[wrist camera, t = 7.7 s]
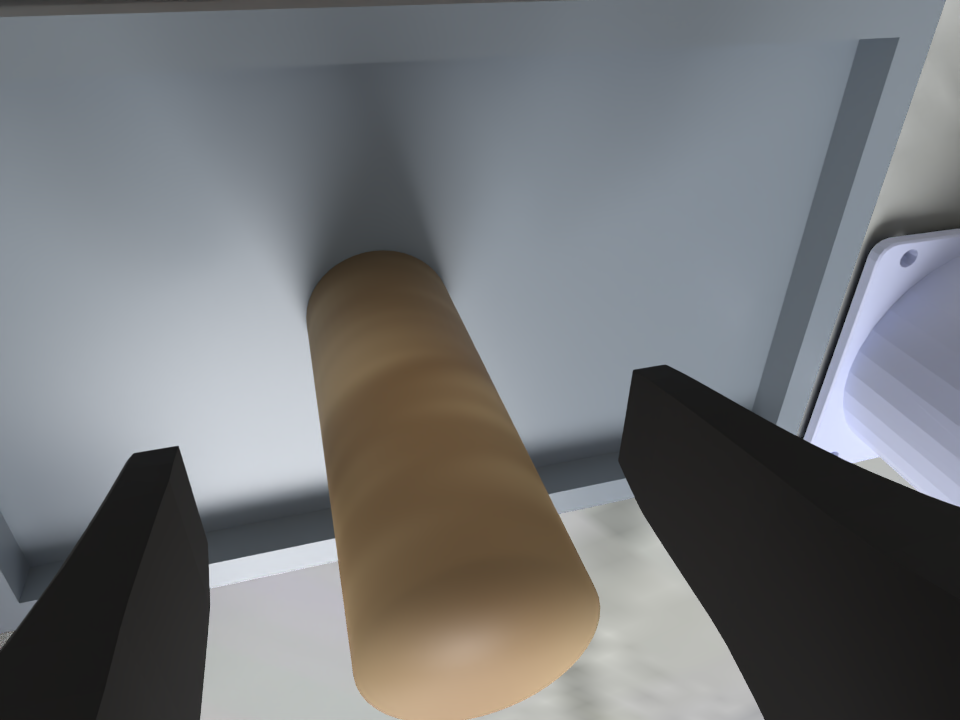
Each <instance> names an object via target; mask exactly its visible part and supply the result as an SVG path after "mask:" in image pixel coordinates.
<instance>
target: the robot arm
mask: <svg viewBox="0 0 960 720" xmlns="http://www.w3.org/2000/svg"><path fill="white" fill-rule="evenodd" d="M877 457H881V458H882V459H883V460H884V461H885V462H886V463H887V464H888V465H890V466H891V467H892V468H893V469H894V470H895V471H896V472H897V473H898V474H900V475H901V476H902V477H903V478H904V479H905V480H906V481H907V482H909V483H910V484H911V485H912V486H913V487H914V488H915V489H916V490H917V491H915V490H913V489H911V488H908V487H906V486H903V485H901V484H899V483H896V482H894V481H891V480H889V479H887V478H884V477H882V476H879V475H877V474H875V473H872V472H870V471H868V470H866V469H863V468H861V467H859V466H857V465H855V464H852V463H854V462H859V461H863V460H868V459H873V458H877ZM618 462H619V464H620V467H621V469H622V471H623V473H624V475H625V478H626V480H627V482H628V484H629V487H630V489H631V491H632V493H633V495H634V497H635V499H636V501H637V503H638V505H639V507H640V509H641V511H642V513H643V514H644V516H645V518H646V519H647V521H648V523H649V524H650V526H651V527H652V529H653V530H654V532H655V533H656V535H657V537H658V538H659V540H660V541H661V543H662V544H663V546H664V548H665V549H666V551H667V552H668V554H669V555H670V557H671V558H672V560H673V561H674V563H675V564H676V566H677V567H678V569H679V570H680V572H681V574H682V575H683V577H684V578H685V580H686V581H687V583H688V584H689V586H690V587H691V589H692V590H693V592H694V593H695V595H696V596H697V598H698V599H699V601H700V603H701V604H702V606H703V607H704V609H705V610H706V612H707V613H708V615H709V616H710V618H711V619H712V621H713V623H714V624H715V626H716V628H717V629H718V631H719V633H720V634H721V636H722V638H723V639H724V641H725V643H726V645H727V646H728V648H729V650H730V652H731V654H732V656H733V658H734V660H735V662H736V664H737V666H738V668H739V669H740V671H741V673H742V675H743V677H744V679H745V681H746V683H747V685H748V687H749V689H750V691H751V693H752V695H753V696H754V698H755V700H756V703H757V705H758V707H759V709H760V711H761V713H762V715H763V717H764V719H765V720H960V228H959V229H951V230H943V231H935V232H928V233H920V234H912V235H905V236H897V237H890V238H887V239H884V240H882V241H880V242H879V243H877V244H876V245H875V246H874V247H873V248H872V250H871V251H870V253H869V255H868V258H867V260H866V263H865V266H864V269H863V272H862V275H861V277H860V280H859V283H858V286H857V289H856V292H855V294H854V297H853V300H852V303H851V306H850V309H849V311H848V314H847V317H846V320H845V323H844V326H843V329H842V331H841V334H840V337H839V340H838V343H837V346H836V348H835V351H834V354H833V357H832V360H831V363H830V365H829V368H828V371H827V374H826V377H825V380H824V382H823V385H822V388H821V391H820V394H819V397H818V399H817V402H816V405H815V408H814V411H813V414H812V416H811V419H810V422H809V425H808V428H807V431H806V433H805V436H804V439H802V438H800V437H798V436H796V435H794V434H792V433H790V432H788V431H786V430H785V429H783V428H781V427H779V426H777V425H775V424H773V423H772V422H770V421H768V420H766V419H764V418H763V417H761V416H759V415H757V414H755V413H754V412H752V411H750V410H748V409H746V408H745V407H743V406H741V405H739V404H738V403H736V402H734V401H732V400H731V399H729V398H727V397H725V396H723V395H722V394H720V393H718V392H716V391H715V390H713V389H711V388H709V387H708V386H706V385H704V384H702V383H700V382H699V381H697V380H695V379H693V378H691V377H690V376H688V375H686V374H684V373H682V372H680V371H678V370H676V369H674V368H672V367H670V366H668V365H666V364H665V365H659V366H653V367H647V368H641V369H635V370H633V372H632V378H631V385H630V391H629V397H628V403H627V409H626V415H625V421H624V428H623V434H622V440H621V446H620V452H619V458H618ZM918 491H919V492H918ZM209 613H210V586H209V558H208V542H207V538H206V535H205V532H204V528H203V525H202V522H201V518H200V515H199V512H198V508H197V505H196V502H195V498H194V495H193V492H192V488H191V485H190V482H189V478H188V475H187V472H186V468H185V465H184V462H183V458H182V455H181V452H180V448H179V446H173V447H167V448H161V449H155V450H149V451H143V452H137V453H133V454H132V455H131V457H130V458H129V459H128V460H127V461H126V463H125V465H124V467H123V468H122V470H121V472H120V473H119V475H118V477H117V479H116V480H115V482H114V484H113V485H112V487H111V489H110V491H109V492H108V494H107V496H106V497H105V499H104V501H103V502H102V504H101V506H100V507H99V509H98V510H97V512H96V514H95V515H94V517H93V519H92V520H91V522H90V523H89V525H88V527H87V528H86V530H85V531H84V533H83V534H82V536H81V537H80V539H79V540H78V542H77V543H76V545H75V547H74V548H73V550H72V551H71V553H70V554H69V556H68V557H67V559H66V560H65V562H64V563H63V565H62V566H61V568H60V569H59V571H58V572H57V574H56V575H55V577H54V578H53V580H52V581H51V582H50V584H49V585H48V587H47V588H46V589H45V591H44V592H43V593H42V595H41V596H40V598H39V599H38V600H37V602H36V603H35V604H34V606H33V607H32V608H31V610H30V611H29V612H28V614H27V615H26V617H25V618H24V619H23V621H22V622H21V623H20V625H19V626H18V627H17V629H16V630H15V632H14V633H13V634H12V636H11V637H10V638H9V639H8V641H7V642H6V643H5V645H4V646H3V647H2V648H1V650H0V720H200V713H201V703H202V692H203V681H204V670H205V659H206V648H207V637H208V625H209Z"/></svg>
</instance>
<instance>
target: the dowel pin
mask: <svg viewBox="0 0 960 720" xmlns="http://www.w3.org/2000/svg"><path fill="white" fill-rule="evenodd" d="M306 321H307V331H308V339H309V346H310V354H311V361H312V369H313V376H314V384H315V391H316V399H317V406H318V414H319V421H320V429H321V436H322V444H323V451H324V459H325V466H326V474H327V481H328V489H329V496H330V504H331V511H332V519H333V526H334V534H335V541H336V549H337V556H338V564H339V571H340V579H341V586H342V594H343V601H344V609H345V616H346V624H347V631H348V639H349V646H350V654H351V661H352V669H353V676H354V680H355V683H356V686H357V688H358V690H359V692H360V694H361V695H362V696H363V697H364V699H365V700H366V701H367V702H368V703H369V704H371V705H372V706H373V707H374V708H376V709H377V710H379V711H381V712H383V713H385V714H387V715H390V716H392V717H395V718H398V719H403V720H467V719H471V718H476V717H480V716H484V715H487V714H490V713H494V712H497V711H499V710H502V709H505V708H507V707H510V706H512V705H514V704H516V703H519V702H521V701H523V700H525V699H527V698H529V697H530V696H532V695H534V694H536V693H538V692H539V691H541V690H542V689H544V688H545V687H547V686H548V685H550V684H551V683H552V682H554V681H555V680H556V679H558V678H559V677H560V676H561V675H563V674H564V673H565V672H566V671H567V670H568V669H569V668H570V667H571V666H572V665H573V664H574V663H575V662H576V661H577V660H578V659H579V658H580V656H581V655H582V654H583V652H584V651H585V650H586V648H587V647H588V645H589V643H590V642H591V640H592V638H593V636H594V634H595V631H596V629H597V626H598V622H599V617H600V603H599V597H598V594H597V592H596V589H595V587H594V585H593V583H592V581H591V579H590V577H589V575H588V573H587V571H586V569H585V567H584V565H583V563H582V561H581V559H580V557H579V555H578V553H577V551H576V549H575V547H574V545H573V543H572V541H571V539H570V537H569V535H568V533H567V531H566V528H565V526H564V524H563V522H562V520H561V518H560V516H559V514H558V512H557V510H556V508H555V506H554V504H553V502H552V500H551V498H550V496H549V494H548V492H547V490H546V488H545V486H544V484H543V482H542V480H541V478H540V476H539V474H538V472H537V470H536V468H535V466H534V464H533V462H532V460H531V458H530V456H529V454H528V452H527V450H526V448H525V446H524V444H523V442H522V440H521V438H520V436H519V434H518V432H517V430H516V428H515V426H514V424H513V422H512V420H511V418H510V416H509V414H508V412H507V410H506V408H505V406H504V404H503V402H502V400H501V398H500V396H499V394H498V392H497V390H496V388H495V386H494V384H493V382H492V380H491V378H490V376H489V374H488V372H487V370H486V368H485V366H484V364H483V362H482V360H481V358H480V355H479V353H478V351H477V349H476V347H475V345H474V343H473V341H472V339H471V337H470V335H469V333H468V331H467V329H466V327H465V325H464V323H463V321H462V319H461V317H460V315H459V313H458V311H457V309H456V307H455V305H454V303H453V301H452V299H451V297H450V295H449V293H448V291H447V289H446V287H445V285H444V283H443V282H442V280H441V278H440V277H439V276H438V274H437V273H436V272H435V271H434V270H433V269H432V268H431V267H430V266H429V265H427V264H426V263H424V262H423V261H421V260H419V259H417V258H415V257H413V256H411V255H408V254H405V253H401V252H396V251H386V250H382V251H371V252H365V253H361V254H358V255H355V256H352V257H350V258H348V259H345V260H344V261H342V262H340V263H339V264H337V265H336V266H334V267H333V268H332V269H330V270H329V271H328V272H327V273H326V274H325V275H324V276H323V277H322V278H321V280H320V281H319V282H318V284H317V285H316V287H315V289H314V290H313V292H312V294H311V297H310V299H309V303H308V307H307V315H306Z"/></svg>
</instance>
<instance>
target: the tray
mask: <svg viewBox="0 0 960 720" xmlns="http://www.w3.org/2000/svg"><path fill="white" fill-rule="evenodd" d="M945 1H946V0H0V634H1V633H5V632H10V631H15V630H16V629H17V627H18V626H19V625H20V623H21V622H22V621H23V619H24V618H25V617H26V615H27V614H28V612H29V611H30V610H31V608H32V607H33V606H34V604H35V603H36V602H37V600H38V599H39V598H40V596H41V595H42V593H43V592H44V591H45V589H46V588H47V587H48V585H49V584H50V582H51V581H52V580H53V578H54V577H55V575H56V574H57V572H58V571H59V569H60V568H61V566H62V565H63V563H64V562H65V560H66V559H67V557H68V556H69V554H70V553H71V551H72V550H73V548H74V547H75V545H76V543H77V542H78V540H79V539H80V537H81V536H82V534H83V533H84V531H85V530H86V528H87V527H88V525H89V523H90V522H91V520H92V519H93V517H94V515H95V514H96V512H97V510H98V509H99V507H100V506H101V504H102V502H103V501H104V499H105V497H106V496H107V494H108V492H109V491H110V489H111V487H112V485H113V484H114V482H115V480H116V479H117V477H118V475H119V473H120V472H121V470H122V468H123V467H124V465H125V463H126V461H127V460H128V459H129V458H130V457H131V455H132V454H133V453H137V452H143V451H149V450H155V449H161V448H167V447H173V446H179V448H180V452H181V455H182V458H183V462H184V465H185V468H186V472H187V475H188V478H189V482H190V485H191V488H192V492H193V495H194V498H195V502H196V505H197V508H198V512H199V515H200V518H201V522H202V525H203V528H204V532H205V535H206V538H207V542H208V558H209V586H210V589H211V588H215V587H220V586H225V585H229V584H234V583H239V582H243V581H248V580H253V579H257V578H262V577H267V576H271V575H276V574H281V573H285V572H290V571H295V570H299V569H304V568H309V567H313V566H318V565H323V564H327V563H332V562H337V561H338V556H337V549H336V541H335V534H334V526H333V519H332V511H331V504H330V496H329V489H328V481H327V474H326V466H325V459H324V451H323V444H322V436H321V429H320V421H319V414H318V406H317V399H316V391H315V384H314V376H313V369H312V361H311V354H310V346H309V339H308V331H307V321H306V315H307V307H308V303H309V299H310V297H311V294H312V292H313V290H314V289H315V287H316V285H317V284H318V282H319V281H320V280H321V278H322V277H323V276H324V275H325V274H326V273H327V272H328V271H329V270H330V269H332V268H333V267H334V266H336V265H337V264H339V263H340V262H342V261H344V260H345V259H348V258H350V257H352V256H355V255H358V254H361V253H365V252H371V251H382V250H386V251H396V252H401V253H405V254H408V255H411V256H413V257H415V258H417V259H419V260H421V261H423V262H424V263H426V264H427V265H429V266H430V267H431V268H432V269H433V270H434V271H435V272H436V273H437V274H438V276H439V277H440V278H441V280H442V282H443V283H444V285H445V287H446V289H447V291H448V293H449V295H450V297H451V299H452V301H453V303H454V305H455V307H456V309H457V311H458V313H459V315H460V317H461V319H462V321H463V323H464V325H465V327H466V329H467V331H468V333H469V335H470V337H471V339H472V341H473V343H474V345H475V347H476V349H477V351H478V353H479V355H480V358H481V360H482V362H483V364H484V366H485V368H486V370H487V372H488V374H489V376H490V378H491V380H492V382H493V384H494V386H495V388H496V390H497V392H498V394H499V396H500V398H501V400H502V402H503V404H504V406H505V408H506V410H507V412H508V414H509V416H510V418H511V420H512V422H513V424H514V426H515V428H516V430H517V432H518V434H519V436H520V438H521V440H522V442H523V444H524V446H525V448H526V450H527V452H528V454H529V456H530V458H531V460H532V462H533V464H534V466H535V468H536V470H537V472H538V474H539V476H540V478H541V480H542V482H543V484H544V486H545V488H546V490H547V492H548V494H549V496H550V498H551V500H552V502H553V504H554V506H555V508H556V510H557V512H558V514H561V513H565V512H570V511H575V510H579V509H584V508H589V507H593V506H598V505H603V504H607V503H612V502H617V501H621V500H626V499H631V498H635V497H634V495H633V493H632V491H631V489H630V487H629V484H628V482H627V480H626V478H625V475H624V473H623V471H622V469H621V467H620V464H619V462H618V458H619V452H620V446H621V440H622V434H623V428H624V421H625V415H626V409H627V403H628V397H629V391H630V385H631V378H632V372H633V370H635V369H641V368H647V367H653V366H659V365H665V364H666V365H668V366H670V367H672V368H674V369H676V370H678V371H680V372H682V373H684V374H686V375H688V376H690V377H691V378H693V379H695V380H697V381H699V382H700V383H702V384H704V385H706V386H708V387H709V388H711V389H713V390H715V391H716V392H718V393H720V394H722V395H723V396H725V397H727V398H729V399H731V400H732V401H734V402H736V403H738V404H739V405H741V406H743V407H745V408H746V409H748V410H750V411H752V412H754V413H755V414H757V415H759V416H761V417H763V418H764V419H766V420H768V421H770V422H772V423H773V424H775V425H777V426H779V427H781V428H783V429H785V430H786V431H788V432H790V433H792V434H794V435H797V432H798V429H799V426H800V423H801V420H802V417H803V414H804V411H805V409H806V406H807V403H808V400H809V397H810V394H811V391H812V388H813V385H814V382H815V379H816V377H817V374H818V371H819V368H820V365H821V362H822V359H823V356H824V353H825V350H826V347H827V345H828V342H829V339H830V336H831V333H832V330H833V327H834V324H835V321H836V318H837V315H838V313H839V310H840V307H841V304H842V301H843V298H844V295H845V292H846V289H847V286H848V283H849V281H850V278H851V275H852V272H853V269H854V266H855V263H856V260H857V257H858V254H859V251H860V248H861V246H862V243H863V240H864V237H865V234H866V231H867V228H868V225H869V222H870V219H871V216H872V214H873V211H874V208H875V205H876V202H877V199H878V196H879V193H880V190H881V187H882V184H883V182H884V179H885V176H886V173H887V170H888V167H889V164H890V161H891V158H892V155H893V152H894V150H895V147H896V144H897V141H898V138H899V135H900V132H901V129H902V126H903V123H904V120H905V118H906V115H907V112H908V109H909V106H910V103H911V100H912V97H913V94H914V91H915V88H916V85H917V83H918V80H919V77H920V74H921V71H922V68H923V65H924V62H925V59H926V56H927V53H928V51H929V48H930V45H931V42H932V39H933V36H934V33H935V30H936V27H937V24H938V21H939V19H940V16H941V13H942V10H943V7H944V4H945Z"/></svg>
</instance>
